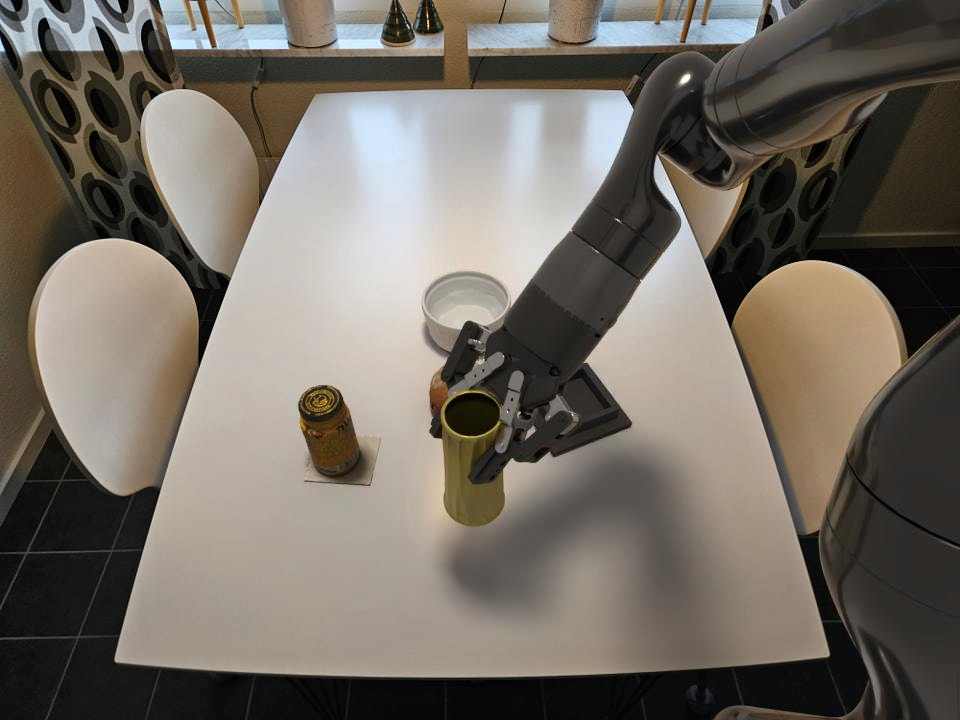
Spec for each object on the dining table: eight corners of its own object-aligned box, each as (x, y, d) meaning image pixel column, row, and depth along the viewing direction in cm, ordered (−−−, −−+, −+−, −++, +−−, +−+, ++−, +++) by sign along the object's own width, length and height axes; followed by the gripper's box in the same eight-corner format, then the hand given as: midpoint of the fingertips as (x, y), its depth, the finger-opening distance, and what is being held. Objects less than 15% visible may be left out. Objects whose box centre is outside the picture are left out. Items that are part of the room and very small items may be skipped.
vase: (516, 493, 65) (522, 405, 54) (481, 539, 61) (480, 456, 51) (467, 463, 67) (464, 373, 56) (431, 506, 64) (419, 420, 53)
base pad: (631, 426, 87) (635, 413, 85) (553, 457, 84) (555, 444, 82) (586, 366, 95) (588, 352, 93) (512, 392, 91) (513, 378, 89)
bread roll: (504, 409, 94) (512, 359, 91) (485, 442, 85) (494, 388, 82) (440, 393, 96) (446, 344, 93) (415, 424, 87) (420, 370, 84)
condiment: (318, 434, 87) (299, 376, 78) (381, 438, 86) (368, 380, 77) (304, 481, 82) (282, 424, 73) (370, 486, 81) (356, 429, 72)
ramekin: (414, 312, 103) (410, 279, 97) (492, 294, 105) (493, 260, 100) (438, 371, 94) (435, 338, 89) (522, 349, 97) (524, 316, 92)
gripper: (492, 243, 53) (383, 402, 57) (615, 345, 45) (479, 520, 50) (537, 268, 59) (436, 410, 63) (653, 361, 52) (529, 516, 56)
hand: (456, 457), depth 57 cm, fingers closed on vase, 5 cm apart
